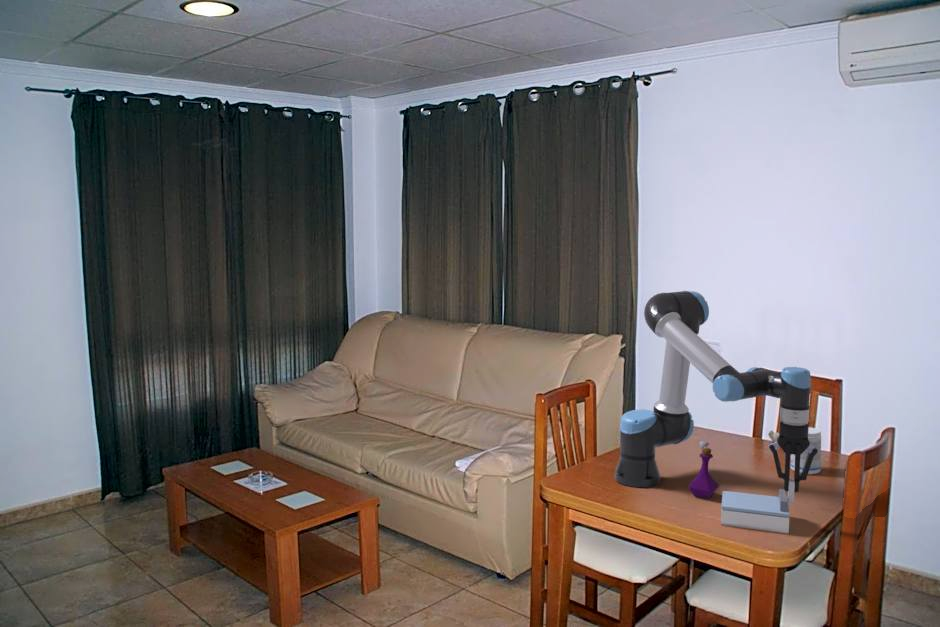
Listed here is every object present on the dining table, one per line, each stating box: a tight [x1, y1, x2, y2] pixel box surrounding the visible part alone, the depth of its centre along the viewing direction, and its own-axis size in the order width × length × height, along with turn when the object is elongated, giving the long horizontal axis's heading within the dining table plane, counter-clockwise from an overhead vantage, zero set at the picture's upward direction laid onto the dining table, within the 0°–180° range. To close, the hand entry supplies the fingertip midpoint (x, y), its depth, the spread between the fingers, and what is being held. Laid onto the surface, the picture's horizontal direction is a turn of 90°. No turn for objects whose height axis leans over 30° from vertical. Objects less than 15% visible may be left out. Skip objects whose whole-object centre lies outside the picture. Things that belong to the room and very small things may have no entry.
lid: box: [720, 488, 790, 518], centre depth 210 cm, size 18×13×4 cm
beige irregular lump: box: [768, 430, 779, 443], centre depth 283 cm, size 9×6×10 cm
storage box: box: [720, 508, 790, 534], centre depth 211 cm, size 18×13×4 cm
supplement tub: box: [790, 426, 822, 475], centre depth 252 cm, size 10×10×15 cm
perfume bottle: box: [687, 441, 720, 500], centre depth 230 cm, size 8×8×18 cm
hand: (790, 501), depth 207 cm, fingers closed
